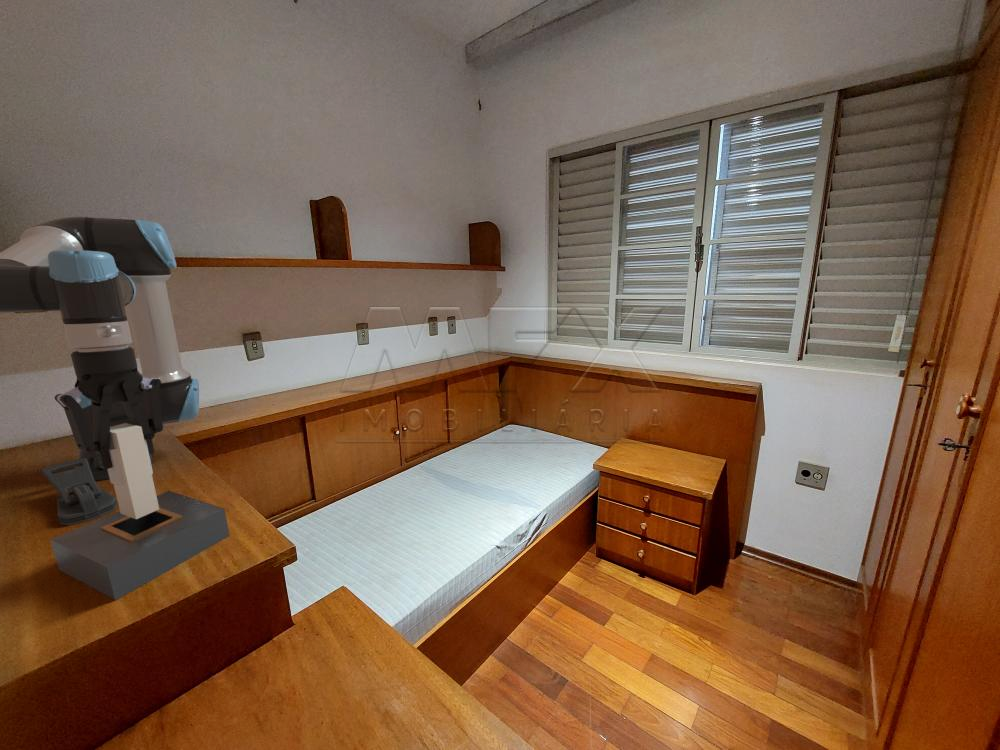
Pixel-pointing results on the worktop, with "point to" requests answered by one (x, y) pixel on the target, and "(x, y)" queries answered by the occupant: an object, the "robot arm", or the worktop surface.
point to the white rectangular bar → (133, 472)
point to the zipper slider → (78, 493)
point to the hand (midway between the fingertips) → (132, 478)
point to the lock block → (139, 544)
